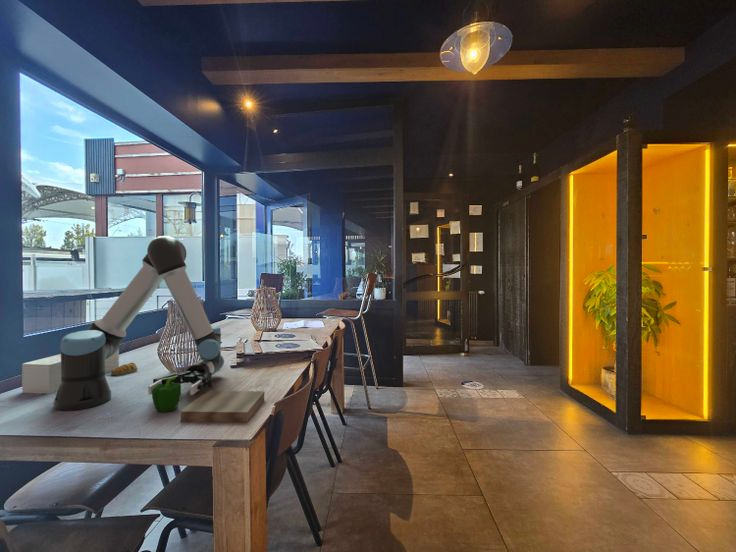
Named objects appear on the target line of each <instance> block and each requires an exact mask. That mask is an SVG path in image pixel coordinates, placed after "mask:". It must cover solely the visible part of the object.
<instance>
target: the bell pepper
mask: <svg viewBox="0 0 736 552" xmlns="http://www.w3.org/2000/svg"><path fill="white" fill-rule="evenodd" d="M171 380H175V377H171V378H169V379H168V380H167V382H166V384H165V385H163V384H158V385H157V386H156V387H155V388H154V389H153V391H152V394H151V399H152V402H153V406H154V409H155V410H156V411H158V412H165V413H166V412H171V411H173V410H175V409H176V408H177V407H178V405H179V402H180V398H181V394H182V393H181V392H182V385H181V384H180V383H174V382H170V381H171Z"/></svg>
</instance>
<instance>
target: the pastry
mask: <svg viewBox="0 0 736 552" xmlns="http://www.w3.org/2000/svg"><path fill="white" fill-rule="evenodd" d="M138 370H139V369H138V366H137V365H136V363H135V362H129V363H126V364H121V365H119V367H118V368H115V369H114V370H112V372H110V375H111V376H118V375H119V376H124V375H127V374H128V375H129V374H133V373H135V372H138Z"/></svg>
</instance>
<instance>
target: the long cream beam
mask: <svg viewBox="0 0 736 552" xmlns="http://www.w3.org/2000/svg"><path fill="white" fill-rule="evenodd" d="M119 348H120V346H119V347H118V350H117V351H116V352H115V353H114V354H113V355H112V356H110V357H109V358H107V359H106V360H105V373H106V374H108V372H109V373H111V372H112V370H114V369H115V368H118V367H120V349H119ZM60 384H61V353H58V354H56V355H52V356H48V357H43V358H39V359H35V360H32V361H28V362H24V363H21V387H22V388H21V392H22V393H23V394H41V393H47V394H46V395H50V394H53V393H55V391H56V392H58V389H59V387H60ZM52 392H53V393H52ZM49 393H50V394H49Z"/></svg>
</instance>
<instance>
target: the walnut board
mask: <svg viewBox="0 0 736 552" xmlns="http://www.w3.org/2000/svg"><path fill="white" fill-rule="evenodd" d="M264 401H265V391H259V390H258V391H247V390H242V391H241V390H238V391H237V390H206V391H205V392H204V393H202V394H201V395H200V396H199V397H198V398H196V399H194V400H193V401H192V402H191V403H190V404H189V405H187V406H186V407H184V408H183V409H182V410H180V414H179V415H180V417H179V419H180V422H193V421H195V423H196V422H198V421H200V422H199V423H201V422H202V423H203V421H205V422H204V423H206V422H209V423H210V422H212V423H213V422H214V423H248V422H249V420H251V418H252V416H253V415H254V414H255V413H256V411H257V410H258V409H259V408H260V406H261V405H262V403H264Z"/></svg>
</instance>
